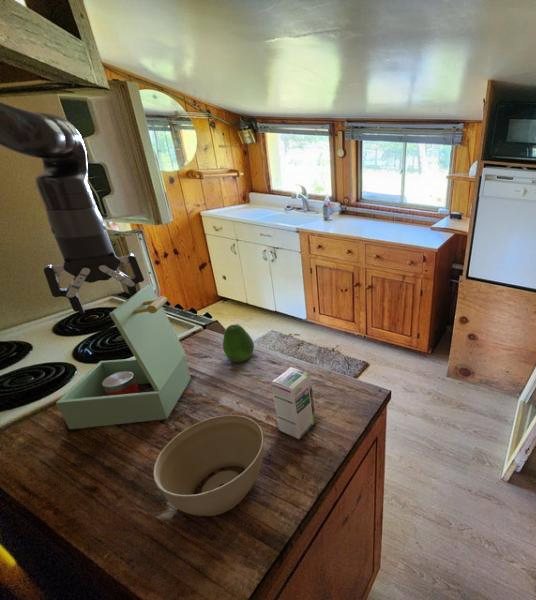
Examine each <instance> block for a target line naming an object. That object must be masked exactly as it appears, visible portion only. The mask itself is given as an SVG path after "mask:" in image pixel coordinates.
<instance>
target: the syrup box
mask: <svg viewBox="0 0 536 600" xmlns="http://www.w3.org/2000/svg"><path fill="white" fill-rule="evenodd" d="M270 384H271V390H272V396H273V403H274V407H275V413H276V419H277V424H278V430H279V431H281V433H282V432H283V433H284V434H287V435H289V436H291V437H292V438H295V439H298V440H300V439H301V438H303V436H305V434H306V433H307V432H308V431H309V430H310V429H311V428H312V427H313V425H315V423H317V421H316V411H315V404H314V394H313V383H312V375H311V374H310V373H308V372H307V371H304V370H301V369H298V368H295V367H291V366H290V367H289V368H288V369H287V370H285V371H284V372H282V373H281V374H279V375H278V376H277V377H275V378H274V379H272V380H271V381H270Z"/></svg>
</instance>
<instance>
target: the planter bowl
mask: <svg viewBox="0 0 536 600" xmlns="http://www.w3.org/2000/svg"><path fill="white" fill-rule="evenodd" d="M264 444H265V438H264V433H263V430H262V427H261V426H260V425H259V423H258V422H256V421H255V420H253V419H252V418H249V417H247V416H244V415H238V414H223V415H217V416H213V417H210V418H206V419H204V420H201V421H199V422H197V423H194V424H192V425H190V426H189V427H186V428H185V429H183V430H181V432H179V433H177V435H176V436H174V437H173V438H172V439H171V440H170V441H169V442H168V443H167V444H166V445H165V446H164V447H163V448H162V450H160V452H159V454H158V456H157V457H156V460H155V462H154V466H153V474H152V475H153V481H154V483H155V485H156V487H157V488H158V490H160V492H161V493H162V495H163V496H164V497H165V499H166V500H167V502H168V503H169V504H171V505H172V506H173V507H174V508H176V509H177V510H179V511H181V512H183V513H186V514H188V515H194V516H200V517H201V516H203V517H212V516H218V515H221V514H224V513H227V512H228V511H230V510H231V509H233V508H235V507H236V506H237V505H238V504H239V503H241V502H242V501H243V499H244V498H245V497H246V496H247V494H248V493H249V492H250V490H251V489H252V487H253V486H254V484H255V483H256V481H257V478H258V477H259V474H260V472H261V469H262V465H263V461H264ZM227 467H239V468H243V469H244V470H243V471H242V472H238V471H237V470H233V469H230V470H229V469H228V470H223V471H220V472H217V473H215V474H213V475H212V476H210V477H209V478H208V479H207V480H206V481H205V482H204V484H203V485H202V487H201V489H200V492H199V493H196V494H195V492H196V489H197V488H198V486H199V485H200V484H201V482H202V481H203V480H204V479H205V478H206V477H207V476H209V475H210V474H212V473H213V472H216V471H217V470H220V469H222V468H223V469H224V468H227Z"/></svg>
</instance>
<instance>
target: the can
mask: <svg viewBox="0 0 536 600" xmlns="http://www.w3.org/2000/svg"><path fill="white" fill-rule="evenodd" d="M102 386H103V388H104V391H105V393H106V394H105V396H111V395H122V394H133V393H141V391H140V388H139V384H137V382H136V380H135V377H134V375H133V373H132V372H129V371H124V372H119V373H115V374H113V375H111V376H109V377H107V378H106V379H105V380H104V381H103V382H102Z"/></svg>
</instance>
